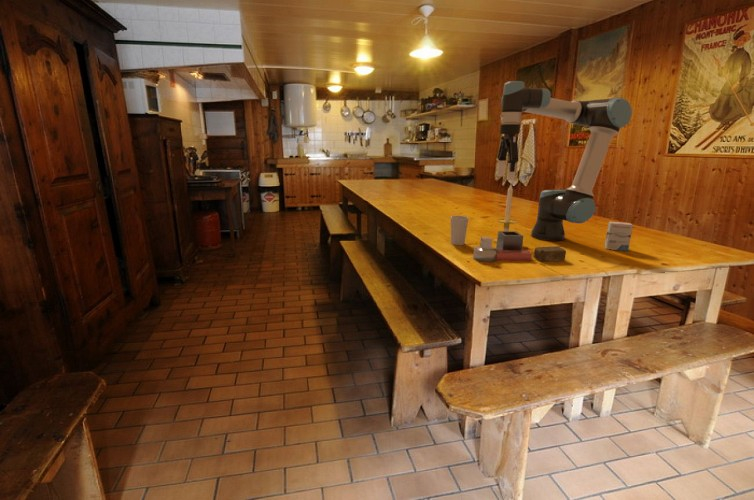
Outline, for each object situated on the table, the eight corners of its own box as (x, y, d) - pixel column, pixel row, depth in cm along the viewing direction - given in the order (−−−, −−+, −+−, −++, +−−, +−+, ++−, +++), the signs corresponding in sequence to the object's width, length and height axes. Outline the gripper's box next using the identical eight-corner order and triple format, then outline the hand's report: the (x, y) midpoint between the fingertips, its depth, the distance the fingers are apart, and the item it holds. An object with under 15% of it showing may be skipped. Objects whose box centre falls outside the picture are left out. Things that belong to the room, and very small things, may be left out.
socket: (514, 249, 174) (516, 231, 171) (521, 254, 166) (523, 236, 164) (496, 249, 174) (498, 231, 171) (502, 254, 166) (504, 235, 164)
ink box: (625, 248, 178) (630, 222, 174) (628, 251, 173) (633, 225, 170) (604, 246, 180) (608, 221, 177) (606, 249, 176) (610, 223, 172)
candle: (492, 238, 192) (498, 181, 184) (514, 239, 190) (521, 182, 182) (494, 243, 182) (500, 184, 175) (517, 244, 181) (524, 185, 173)
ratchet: (524, 255, 165) (527, 235, 162) (533, 262, 156) (536, 241, 154) (470, 255, 164) (472, 235, 162) (476, 262, 156) (478, 240, 153)
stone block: (532, 258, 162) (533, 246, 160) (557, 257, 164) (559, 245, 163) (540, 262, 156) (542, 250, 155) (566, 261, 159) (568, 249, 157)
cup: (466, 246, 177) (468, 219, 174) (448, 244, 179) (450, 218, 175) (466, 241, 185) (468, 216, 181) (449, 240, 186) (450, 215, 183)
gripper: (492, 124, 169) (488, 174, 175) (510, 123, 145) (505, 181, 152) (510, 124, 169) (505, 174, 175) (531, 123, 145) (524, 181, 151)
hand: (505, 178), depth 163 cm, fingers open, 13 cm apart
